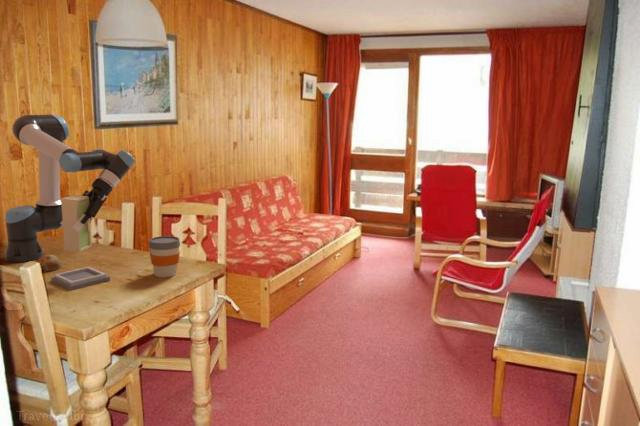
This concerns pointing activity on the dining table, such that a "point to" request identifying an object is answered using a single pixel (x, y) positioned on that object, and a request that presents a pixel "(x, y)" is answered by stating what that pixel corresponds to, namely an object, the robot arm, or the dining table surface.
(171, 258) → the reusable coffee cup
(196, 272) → the dining table surface
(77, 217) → the toy refrigerator
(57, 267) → the bread roll
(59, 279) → the base plate
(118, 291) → the dining table surface
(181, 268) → the dining table surface
